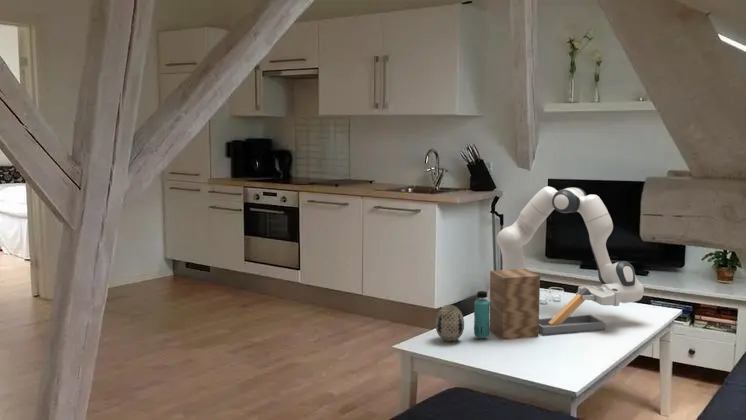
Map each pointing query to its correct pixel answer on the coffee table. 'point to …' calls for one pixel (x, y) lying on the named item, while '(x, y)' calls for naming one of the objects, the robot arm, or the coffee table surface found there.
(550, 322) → the marker
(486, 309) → the beverage bottle
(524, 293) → the stand
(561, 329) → the tray
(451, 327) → the decorative egg
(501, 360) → the coffee table surface
